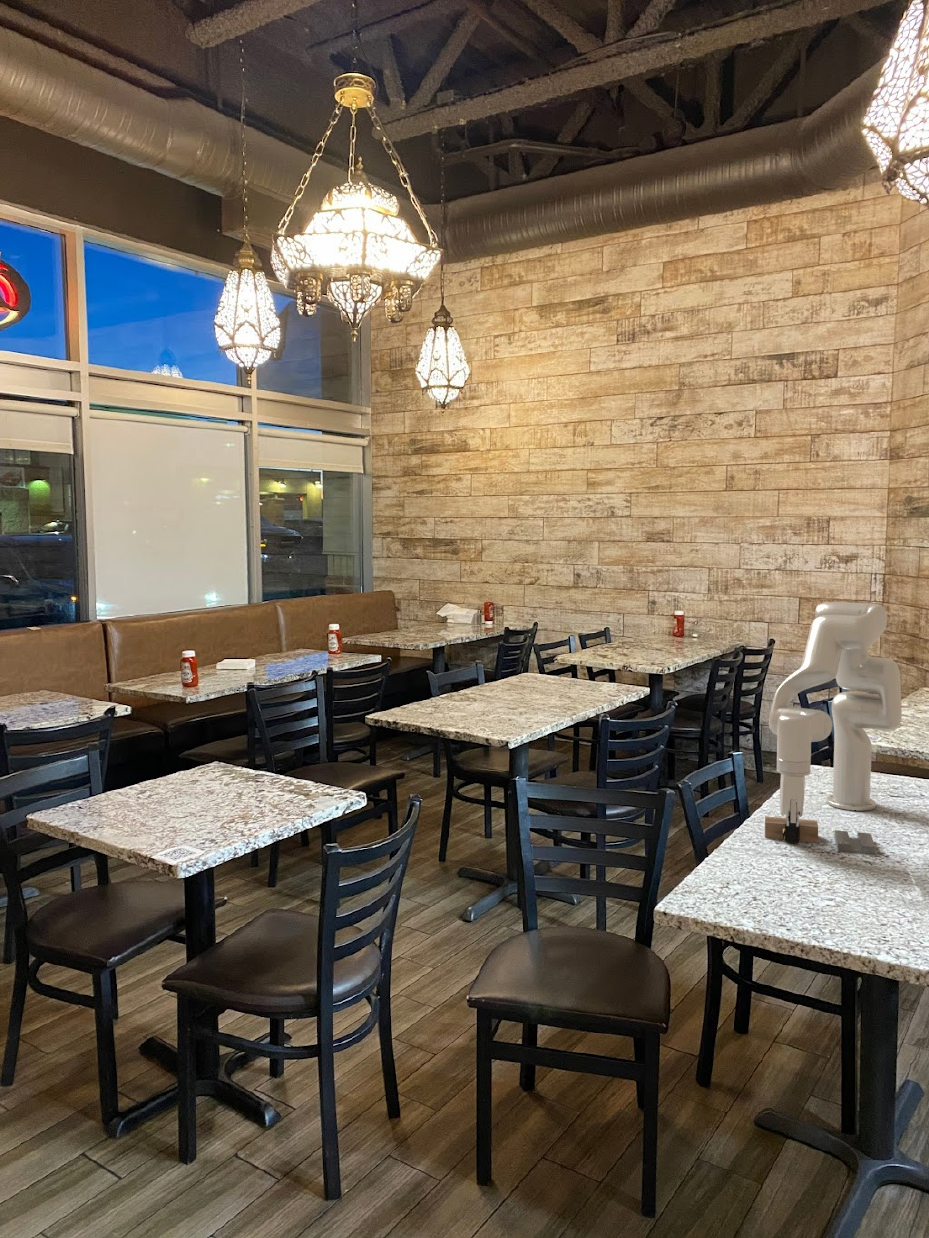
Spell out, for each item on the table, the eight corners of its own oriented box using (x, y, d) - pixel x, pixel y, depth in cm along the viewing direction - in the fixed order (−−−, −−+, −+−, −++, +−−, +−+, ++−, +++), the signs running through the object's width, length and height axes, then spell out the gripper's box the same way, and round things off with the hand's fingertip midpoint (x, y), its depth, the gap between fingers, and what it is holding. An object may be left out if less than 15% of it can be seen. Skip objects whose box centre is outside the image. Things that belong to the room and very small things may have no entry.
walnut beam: (764, 835, 219) (765, 816, 218) (816, 840, 215) (817, 820, 214) (764, 842, 214) (765, 822, 213) (817, 847, 210) (818, 826, 210)
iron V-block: (834, 842, 213) (834, 830, 213) (870, 845, 211) (870, 833, 211) (837, 856, 204) (838, 843, 204) (875, 859, 201) (875, 847, 201)
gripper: (776, 757, 216) (774, 829, 218) (777, 772, 202) (775, 850, 204) (808, 759, 214) (807, 832, 215) (812, 775, 200) (810, 853, 201)
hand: (791, 841), depth 210 cm, fingers closed
